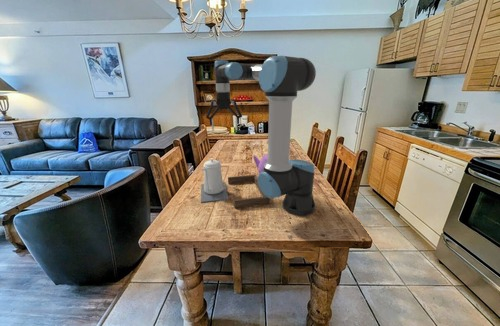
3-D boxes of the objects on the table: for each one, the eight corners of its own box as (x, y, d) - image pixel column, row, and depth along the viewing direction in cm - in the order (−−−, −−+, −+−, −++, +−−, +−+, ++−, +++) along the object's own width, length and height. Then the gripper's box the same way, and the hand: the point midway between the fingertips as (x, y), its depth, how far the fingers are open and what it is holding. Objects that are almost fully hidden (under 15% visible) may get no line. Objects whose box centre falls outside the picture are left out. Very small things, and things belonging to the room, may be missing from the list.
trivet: (228, 199, 112) (228, 198, 112) (201, 202, 110) (200, 201, 110) (224, 183, 133) (224, 182, 133) (201, 185, 130) (201, 184, 130)
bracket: (269, 204, 107) (269, 197, 106) (234, 208, 104) (234, 200, 103) (255, 180, 136) (255, 174, 134) (228, 183, 132) (227, 177, 131)
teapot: (259, 167, 158) (259, 147, 153) (286, 171, 151) (287, 150, 146) (249, 177, 141) (248, 155, 136) (279, 181, 134) (280, 158, 129)
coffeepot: (194, 200, 111) (191, 165, 105) (212, 181, 134) (210, 152, 128) (214, 202, 108) (212, 167, 102) (229, 182, 132) (228, 152, 126)
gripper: (244, 91, 125) (245, 128, 132) (199, 92, 120) (203, 130, 127) (246, 91, 118) (247, 130, 125) (199, 92, 113) (203, 132, 120)
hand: (224, 130), depth 126 cm, fingers open, 13 cm apart
